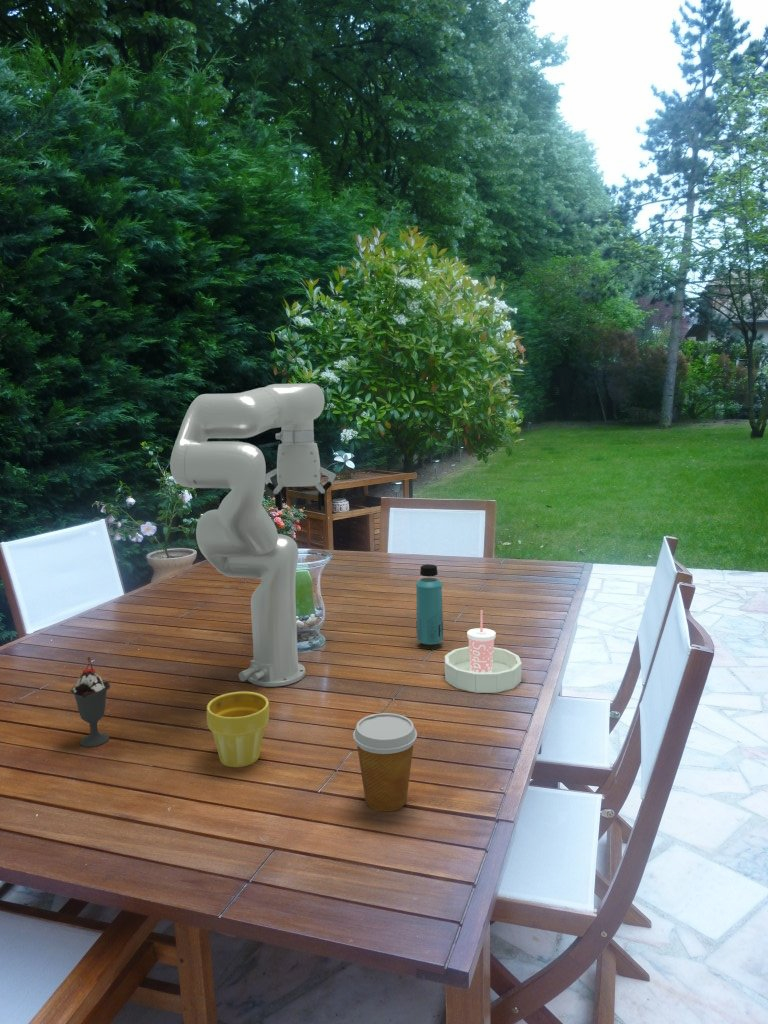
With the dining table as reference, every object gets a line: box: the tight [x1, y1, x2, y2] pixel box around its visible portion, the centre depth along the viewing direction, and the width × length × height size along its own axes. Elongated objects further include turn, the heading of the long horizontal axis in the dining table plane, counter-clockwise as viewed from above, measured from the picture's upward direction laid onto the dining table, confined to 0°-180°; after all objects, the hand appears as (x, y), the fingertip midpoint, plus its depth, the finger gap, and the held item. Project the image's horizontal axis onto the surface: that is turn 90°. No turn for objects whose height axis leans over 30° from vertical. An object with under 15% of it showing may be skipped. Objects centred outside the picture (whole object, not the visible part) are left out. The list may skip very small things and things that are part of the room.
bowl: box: [444, 646, 523, 694], centre depth 153 cm, size 16×16×4 cm
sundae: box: [69, 656, 111, 748], centre depth 126 cm, size 7×7×15 cm
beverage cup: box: [466, 609, 497, 673], centre depth 152 cm, size 6×6×14 cm
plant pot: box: [206, 691, 270, 768], centre depth 120 cm, size 10×10×10 cm
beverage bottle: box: [415, 564, 444, 645], centre depth 170 cm, size 6×7×20 cm
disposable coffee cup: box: [352, 712, 418, 812], centre depth 107 cm, size 10×10×12 cm
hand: (300, 509), depth 171 cm, fingers open, 9 cm apart
